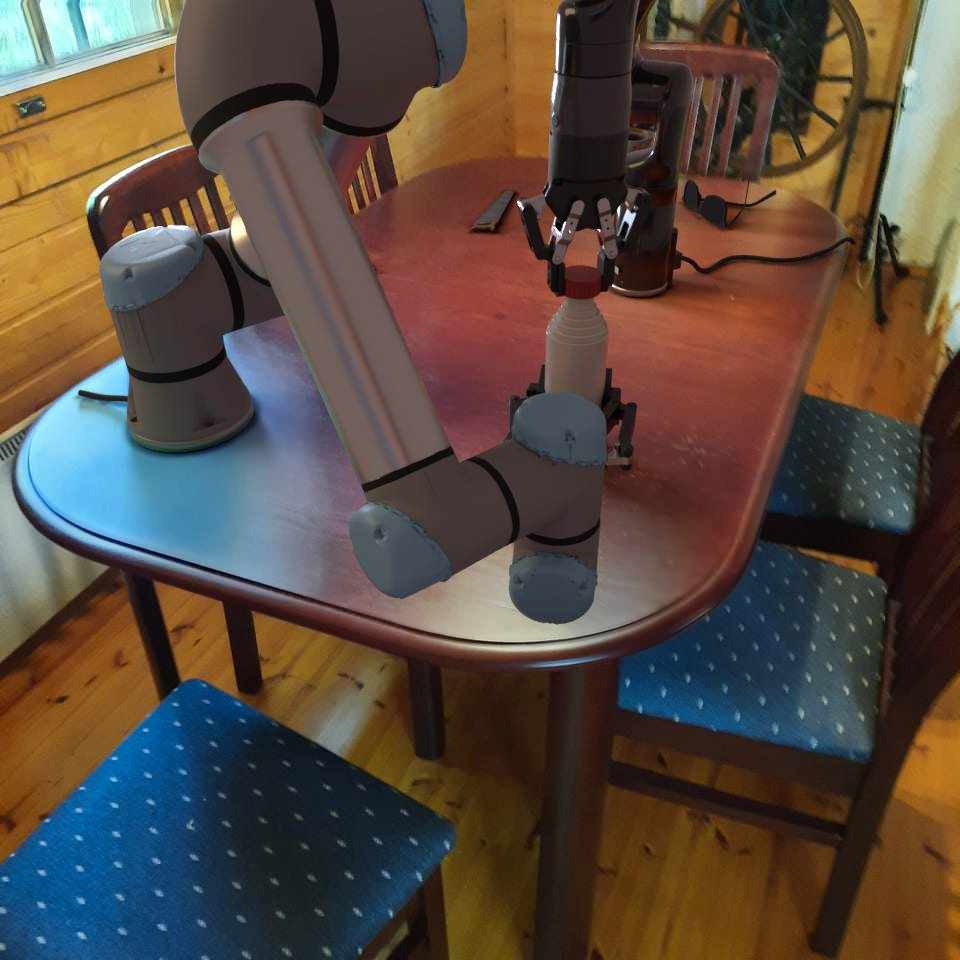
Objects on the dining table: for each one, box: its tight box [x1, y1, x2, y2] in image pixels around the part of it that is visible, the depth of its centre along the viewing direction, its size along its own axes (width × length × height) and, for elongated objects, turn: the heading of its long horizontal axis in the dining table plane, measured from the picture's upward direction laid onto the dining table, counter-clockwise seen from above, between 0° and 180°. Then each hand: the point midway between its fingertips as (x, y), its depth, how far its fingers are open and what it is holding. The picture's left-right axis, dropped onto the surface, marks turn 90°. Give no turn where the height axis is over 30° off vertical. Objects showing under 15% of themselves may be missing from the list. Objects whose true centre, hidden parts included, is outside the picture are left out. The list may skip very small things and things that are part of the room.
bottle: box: [544, 296, 610, 411], centre depth 96 cm, size 7×7×21 cm
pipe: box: [627, 131, 654, 153], centre depth 181 cm, size 6×13×8 cm, turn 95°
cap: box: [563, 264, 602, 299], centre depth 90 cm, size 4×4×2 cm
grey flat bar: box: [470, 189, 515, 232], centre depth 168 cm, size 24×5×1 cm, turn 168°
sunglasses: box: [681, 175, 777, 228], centre depth 163 cm, size 17×14×5 cm
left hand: (576, 376), depth 103 cm, fingers closed on bottle, 7 cm apart
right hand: (579, 290), depth 91 cm, fingers closed on cap, 4 cm apart
